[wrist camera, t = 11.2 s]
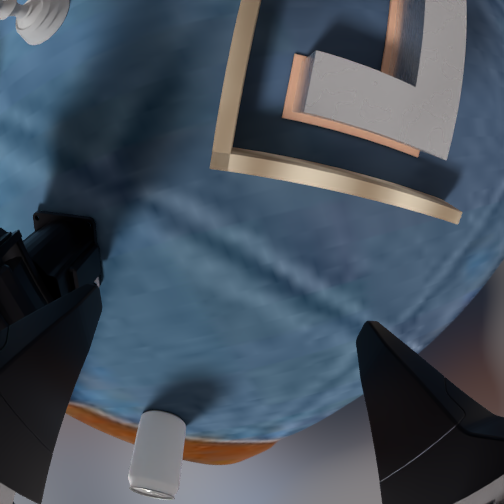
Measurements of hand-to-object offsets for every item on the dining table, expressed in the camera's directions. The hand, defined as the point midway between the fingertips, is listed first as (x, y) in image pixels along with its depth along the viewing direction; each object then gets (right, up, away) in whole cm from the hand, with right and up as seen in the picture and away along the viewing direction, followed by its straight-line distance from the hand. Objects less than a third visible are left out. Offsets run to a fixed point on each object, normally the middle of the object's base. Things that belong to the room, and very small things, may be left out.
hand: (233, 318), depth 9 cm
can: (-12, -21, +25) cm, 35 cm away
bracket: (+9, +16, +5) cm, 19 cm away
